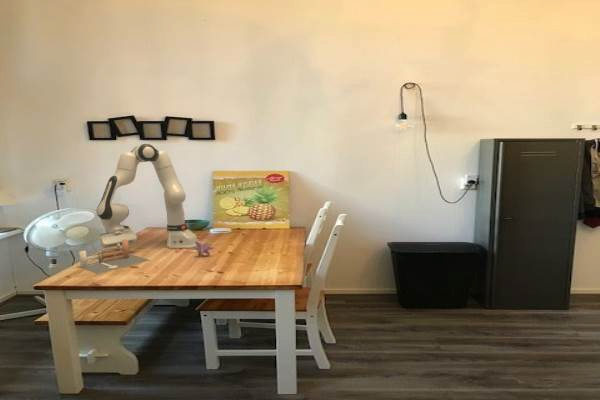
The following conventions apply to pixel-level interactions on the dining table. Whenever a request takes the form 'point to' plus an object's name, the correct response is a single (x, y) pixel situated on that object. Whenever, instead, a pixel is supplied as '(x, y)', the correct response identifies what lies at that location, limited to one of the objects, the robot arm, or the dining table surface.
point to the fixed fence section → (84, 259)
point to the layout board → (114, 264)
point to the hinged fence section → (124, 251)
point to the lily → (202, 248)
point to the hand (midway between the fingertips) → (123, 249)
